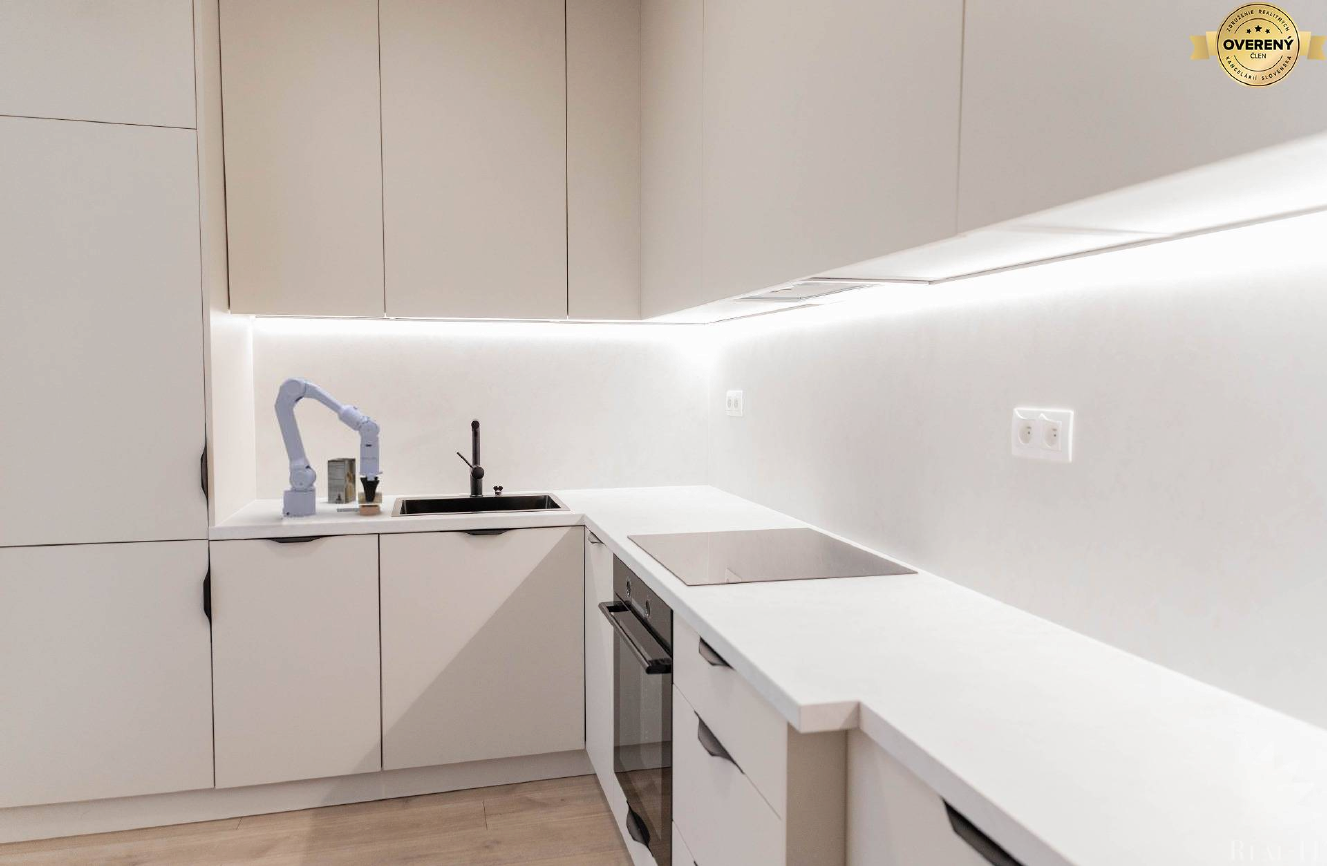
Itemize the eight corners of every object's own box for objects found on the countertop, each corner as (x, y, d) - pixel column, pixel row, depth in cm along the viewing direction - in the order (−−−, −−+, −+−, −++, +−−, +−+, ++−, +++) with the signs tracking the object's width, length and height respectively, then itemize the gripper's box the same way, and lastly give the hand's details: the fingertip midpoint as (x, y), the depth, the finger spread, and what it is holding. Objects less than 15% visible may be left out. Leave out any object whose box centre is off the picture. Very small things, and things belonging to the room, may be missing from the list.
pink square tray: (360, 518, 257) (360, 507, 257) (359, 515, 263) (359, 504, 263) (380, 517, 260) (380, 507, 259) (378, 514, 265) (378, 504, 265)
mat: (337, 515, 262) (337, 511, 262) (336, 512, 269) (336, 508, 268) (367, 514, 266) (367, 510, 266) (365, 511, 272) (365, 507, 272)
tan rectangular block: (358, 504, 257) (358, 494, 257) (358, 501, 262) (358, 492, 262) (382, 503, 260) (382, 494, 260) (381, 501, 265) (381, 491, 265)
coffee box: (338, 502, 288) (338, 457, 287) (356, 503, 288) (356, 458, 287) (327, 506, 279) (327, 460, 278) (345, 507, 279) (345, 460, 278)
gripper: (384, 460, 255) (384, 503, 256) (381, 455, 268) (381, 496, 269) (360, 460, 252) (360, 504, 253) (358, 456, 266) (358, 497, 266)
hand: (369, 500), depth 261 cm, fingers closed on tan rectangular block, 5 cm apart
